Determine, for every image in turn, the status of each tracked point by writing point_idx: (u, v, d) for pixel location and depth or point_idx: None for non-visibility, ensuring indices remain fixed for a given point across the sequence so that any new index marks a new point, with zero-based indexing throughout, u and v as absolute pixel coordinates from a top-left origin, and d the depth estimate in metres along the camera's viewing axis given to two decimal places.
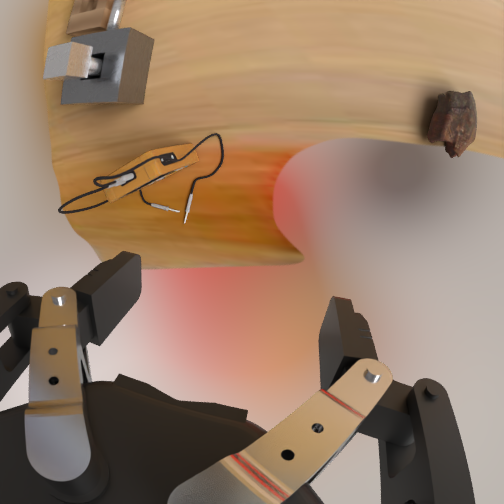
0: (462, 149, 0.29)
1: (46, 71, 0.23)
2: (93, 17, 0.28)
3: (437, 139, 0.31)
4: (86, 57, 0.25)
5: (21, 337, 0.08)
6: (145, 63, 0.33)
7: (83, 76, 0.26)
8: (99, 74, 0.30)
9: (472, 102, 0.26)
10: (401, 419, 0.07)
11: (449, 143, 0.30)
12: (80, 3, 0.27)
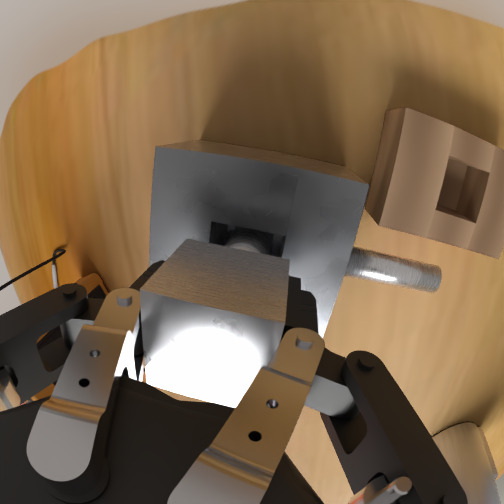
0: None
1: (169, 308, 0.08)
2: (415, 204, 0.15)
3: None
4: None
5: (71, 341, 0.08)
6: None
7: None
8: None
9: None
10: (334, 389, 0.08)
11: None
12: (474, 161, 0.14)
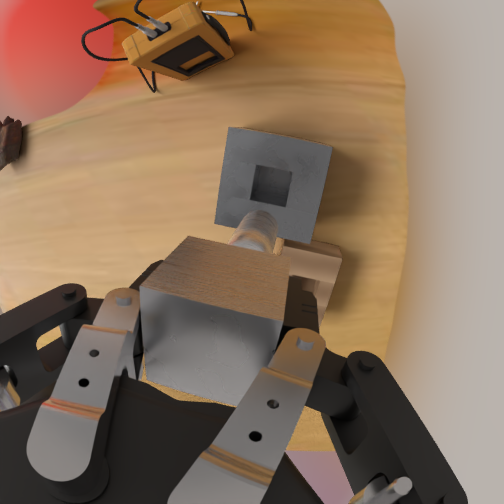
0: None
1: (168, 305, 0.08)
2: (294, 263, 0.35)
3: (11, 123, 0.34)
4: None
5: (70, 340, 0.08)
6: None
7: None
8: None
9: None
10: (335, 389, 0.08)
11: (5, 125, 0.34)
12: (318, 294, 0.36)
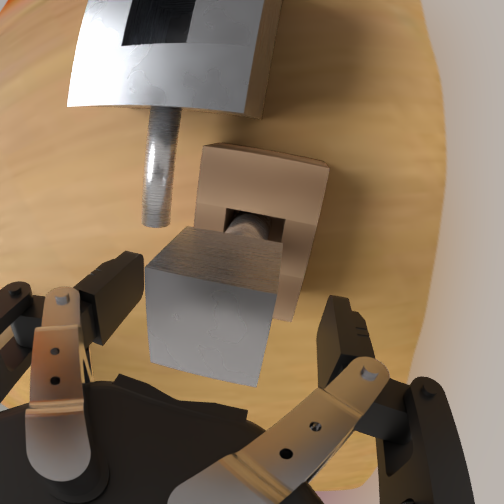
0: None
1: (171, 284, 0.09)
2: (228, 182, 0.17)
3: None
4: None
5: (23, 337, 0.08)
6: None
7: None
8: None
9: None
10: (398, 417, 0.07)
11: None
12: (283, 251, 0.18)
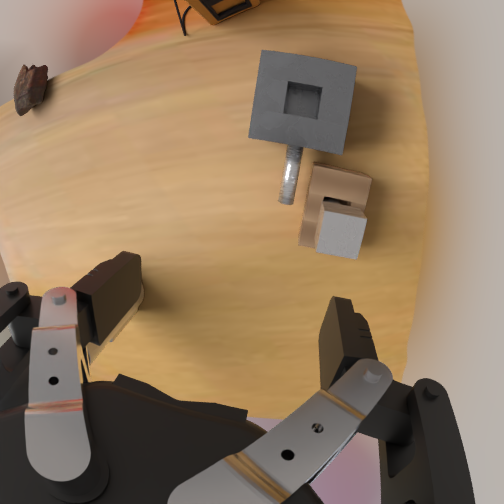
0: (20, 70, 0.32)
1: (333, 216, 0.26)
2: (326, 183, 0.34)
3: (38, 67, 0.33)
4: None
5: (21, 337, 0.08)
6: None
7: (315, 239, 0.31)
8: None
9: (15, 105, 0.34)
10: (401, 419, 0.07)
11: None
12: None
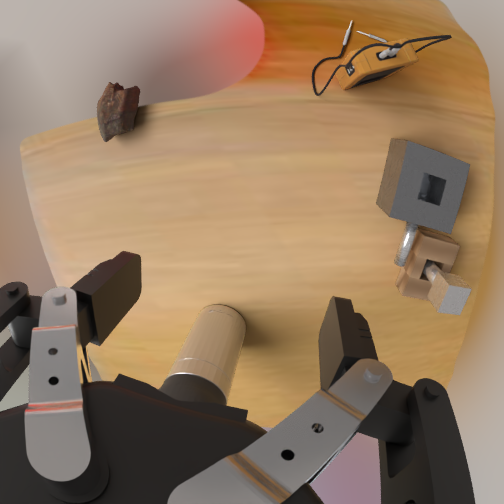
0: (106, 88, 0.36)
1: (453, 288, 0.31)
2: (429, 250, 0.39)
3: (129, 88, 0.37)
4: None
5: (21, 337, 0.08)
6: (385, 178, 0.39)
7: (429, 299, 0.36)
8: (425, 274, 0.40)
9: (102, 130, 0.38)
10: (401, 419, 0.07)
11: (119, 90, 0.37)
12: None
